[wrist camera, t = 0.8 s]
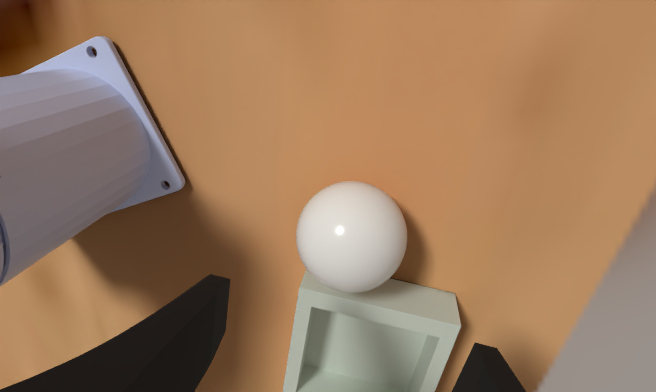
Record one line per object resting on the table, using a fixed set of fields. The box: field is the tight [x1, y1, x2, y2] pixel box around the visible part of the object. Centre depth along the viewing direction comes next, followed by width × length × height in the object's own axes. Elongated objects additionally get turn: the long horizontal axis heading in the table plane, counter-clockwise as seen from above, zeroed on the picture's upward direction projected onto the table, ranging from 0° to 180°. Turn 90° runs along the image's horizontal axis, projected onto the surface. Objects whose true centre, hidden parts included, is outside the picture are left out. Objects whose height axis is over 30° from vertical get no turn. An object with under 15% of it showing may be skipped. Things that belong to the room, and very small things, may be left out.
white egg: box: [296, 181, 407, 293], centre depth 18 cm, size 5×5×5 cm
